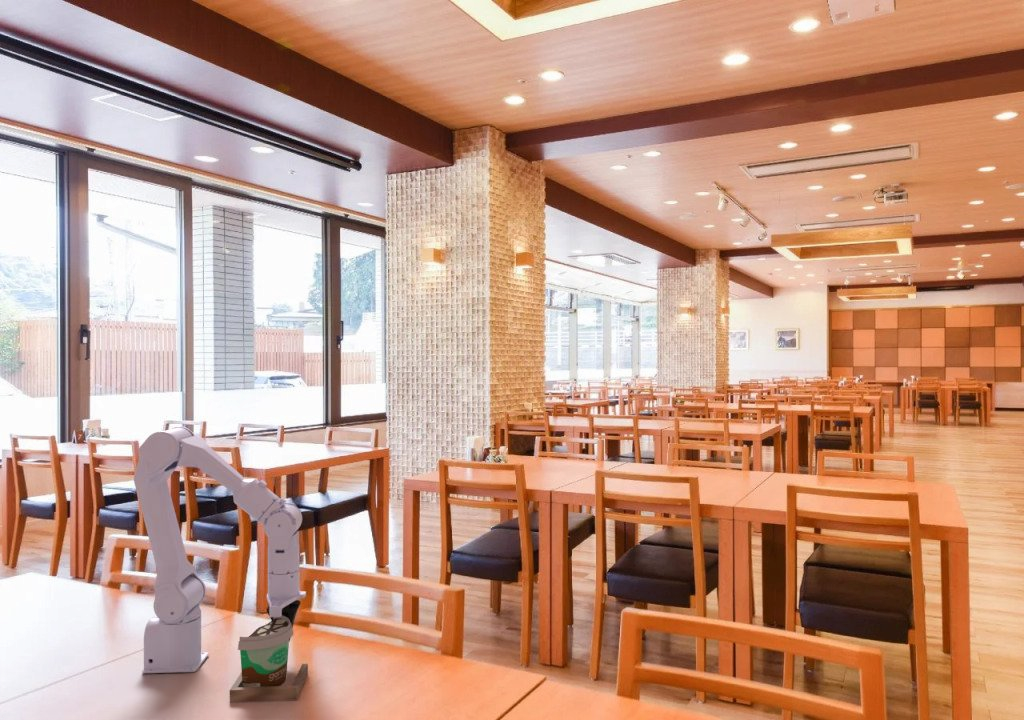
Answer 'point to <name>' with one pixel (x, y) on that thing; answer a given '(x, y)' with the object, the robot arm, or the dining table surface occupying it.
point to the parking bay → (268, 690)
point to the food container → (266, 654)
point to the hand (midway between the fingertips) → (283, 642)
